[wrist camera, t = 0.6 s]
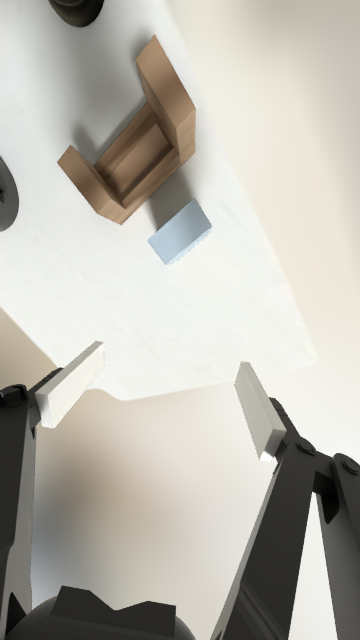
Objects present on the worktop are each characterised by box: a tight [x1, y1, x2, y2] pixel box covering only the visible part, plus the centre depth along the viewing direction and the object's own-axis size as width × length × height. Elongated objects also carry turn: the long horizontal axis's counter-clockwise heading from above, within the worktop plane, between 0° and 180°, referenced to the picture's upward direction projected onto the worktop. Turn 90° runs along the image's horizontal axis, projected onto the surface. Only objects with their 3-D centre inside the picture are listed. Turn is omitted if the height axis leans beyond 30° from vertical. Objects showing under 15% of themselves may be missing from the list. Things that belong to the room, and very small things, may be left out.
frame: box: [57, 35, 196, 225], centre depth 26 cm, size 8×18×9 cm, turn 127°
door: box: [147, 198, 212, 265], centre depth 28 cm, size 4×8×12 cm, turn 127°
